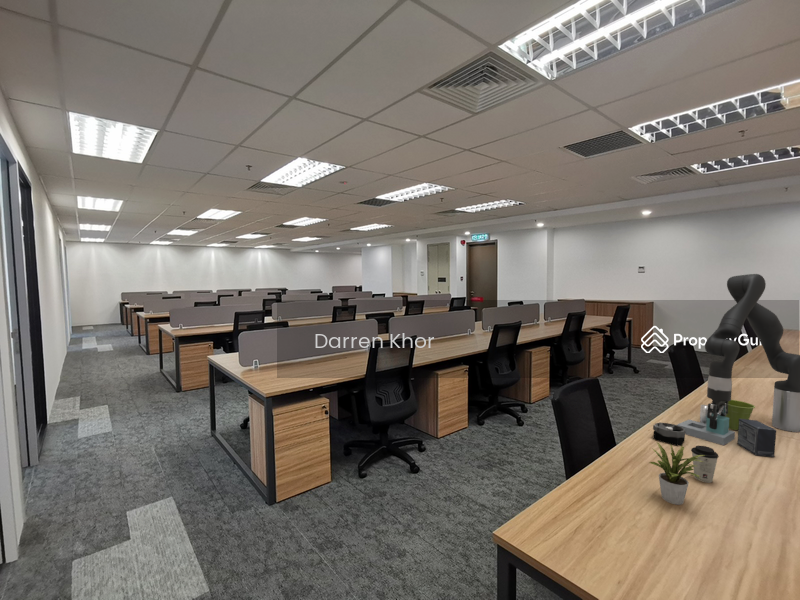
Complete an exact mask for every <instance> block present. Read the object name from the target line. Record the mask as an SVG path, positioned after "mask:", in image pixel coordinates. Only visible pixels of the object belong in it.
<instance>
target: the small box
mask: <svg viewBox="0 0 800 600" xmlns="http://www.w3.org/2000/svg"><path fill="white" fill-rule="evenodd" d="M737 431H738V432H737V442H736V444H737V445H738V446H739V447H741V448H743V449H744V450H746V451H748V452H749V453H751V454H753V455H754V456H755V457H756V456H757V457H758V456H760V457H769V458H775V451H776V440H777V438H776V437H777V436H776V435H777V429H776V428H774V427H773V428H772V427H771V426H768V425H767V424H765V423H762V422H761V421H759V420H756V419H749V420H748V419H739V428H738V430H737Z"/></svg>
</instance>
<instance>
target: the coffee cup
mask: <svg viewBox="0 0 800 600" xmlns="http://www.w3.org/2000/svg"><path fill="white" fill-rule="evenodd" d="M690 451H691V454H692V456H691V457H693V456H697V455H705V456H699V457H697V458H701V459H695V460H700V461H703V462H700V461H692V465H695V466H694V467H692V469H694V470H693V473H695V474H696V475H699V478H698V477H697V476H695V475H693V477H694V479H695V480H697V481H699V482H703V483H709V484H710V483H713V480H714V476H715V475H714V474H715V471H716V467H717V462H718V458H719V454H718V453H717V452H716V451H715V449H714V448H712V447H710V446H707V445H696V446H694V447H692V448H691V450H690ZM700 476H701V477H700Z"/></svg>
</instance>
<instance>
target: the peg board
mask: <svg viewBox="0 0 800 600" xmlns="http://www.w3.org/2000/svg"><path fill="white" fill-rule="evenodd" d="M676 425H678V426H680V427H682V428H684V429H685V430H686V431H685V436H686V435H687V436H690V437H693V438H697V439H699V440H703V441H707V442H710V443H714V444H717V445H721V446H725V445H727V444H729V443H730V442H732V441H734V440H735V439H736V437H735V436H736V431H735V430H731V429H729V432H728V433H726V434H725V435H721V434H717V433H713V432H710V431H706V424H704V423H700V421H696V420H693V419H687V420H684V421H682V422H679V423H677V424H676Z"/></svg>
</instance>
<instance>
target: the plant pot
mask: <svg viewBox="0 0 800 600" xmlns="http://www.w3.org/2000/svg"><path fill="white" fill-rule="evenodd" d="M754 409H756V406H755V405H754V404H752V403H749V402H745V401H741V400H736V399H731V401H729V402H728V414H726V416H725V417H728V418H729V430H731V431H738V428H739V419H748V420H750V418H751V415H752V413H753V411H754Z"/></svg>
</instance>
